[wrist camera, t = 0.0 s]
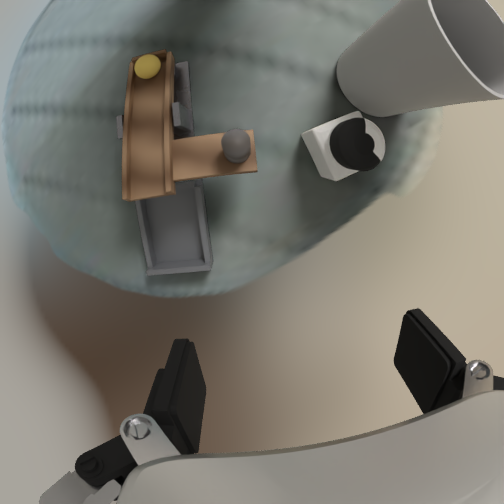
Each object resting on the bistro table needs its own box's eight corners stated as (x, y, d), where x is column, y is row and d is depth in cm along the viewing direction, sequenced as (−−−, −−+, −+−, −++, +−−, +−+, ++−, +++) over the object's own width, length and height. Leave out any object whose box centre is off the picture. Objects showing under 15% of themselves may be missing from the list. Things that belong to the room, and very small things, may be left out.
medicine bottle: (320, 177, 39) (349, 186, 28) (299, 133, 37) (321, 124, 26) (361, 159, 38) (401, 162, 27) (341, 116, 36) (376, 103, 25)
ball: (140, 65, 30) (131, 54, 26) (164, 59, 29) (156, 47, 26) (139, 85, 30) (129, 74, 26) (163, 79, 30) (155, 67, 26)
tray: (139, 188, 39) (130, 191, 36) (202, 179, 39) (198, 181, 35) (153, 266, 43) (147, 275, 40) (213, 261, 43) (210, 270, 40)
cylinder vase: (404, 125, 36) (527, 118, 13) (334, 109, 36) (438, 64, 12) (403, 58, 32) (507, 14, 9) (334, 38, 32) (413, -47, 8)
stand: (131, 74, 33) (112, 62, 26) (188, 61, 33) (177, 44, 26) (136, 147, 37) (116, 146, 30) (194, 136, 37) (184, 132, 30)
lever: (134, 69, 30) (125, 55, 27) (243, 49, 30) (242, 32, 27) (129, 201, 31) (115, 196, 27) (258, 184, 31) (259, 176, 27)
